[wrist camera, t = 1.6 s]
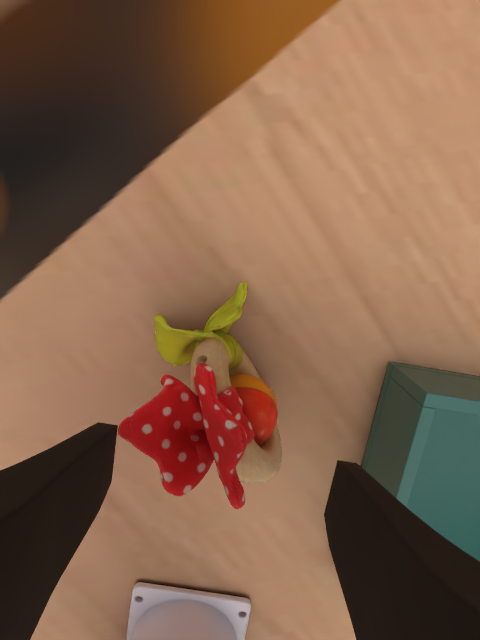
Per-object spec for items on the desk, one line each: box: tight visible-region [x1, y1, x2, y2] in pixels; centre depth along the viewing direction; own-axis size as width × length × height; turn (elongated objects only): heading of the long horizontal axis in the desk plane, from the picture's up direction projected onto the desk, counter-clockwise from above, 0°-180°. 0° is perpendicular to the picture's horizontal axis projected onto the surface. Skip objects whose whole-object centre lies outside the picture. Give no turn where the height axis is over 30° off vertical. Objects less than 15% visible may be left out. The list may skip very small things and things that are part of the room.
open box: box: [361, 362, 480, 561], centre depth 21 cm, size 14×12×5 cm
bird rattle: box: [118, 282, 282, 509], centre depth 17 cm, size 6×11×9 cm
